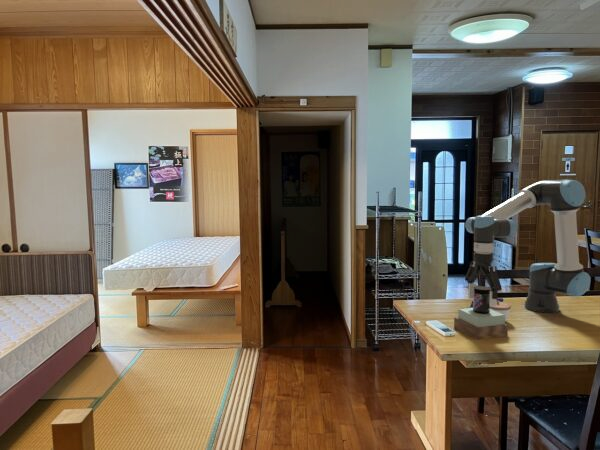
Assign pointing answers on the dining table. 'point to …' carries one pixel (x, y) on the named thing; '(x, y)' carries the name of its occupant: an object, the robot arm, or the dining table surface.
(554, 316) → the dining table surface
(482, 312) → the supplement container
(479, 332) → the walnut base block
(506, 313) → the lidded jar
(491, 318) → the sage top block
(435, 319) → the dining table surface
